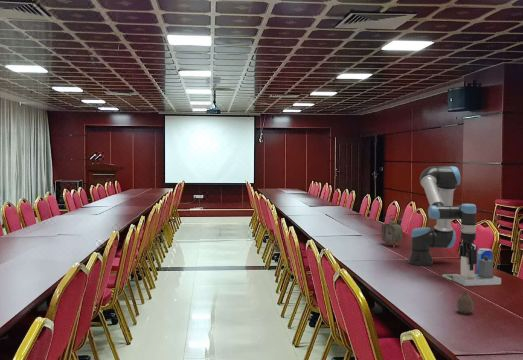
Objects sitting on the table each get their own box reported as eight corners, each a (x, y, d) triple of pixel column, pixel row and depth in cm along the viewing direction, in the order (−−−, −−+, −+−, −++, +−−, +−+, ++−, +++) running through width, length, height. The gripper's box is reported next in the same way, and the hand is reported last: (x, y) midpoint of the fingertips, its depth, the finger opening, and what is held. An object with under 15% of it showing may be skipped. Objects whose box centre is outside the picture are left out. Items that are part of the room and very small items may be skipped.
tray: (442, 277, 282) (442, 274, 282) (456, 277, 284) (456, 273, 283) (450, 281, 273) (450, 278, 273) (466, 280, 274) (466, 277, 274)
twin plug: (478, 281, 271) (479, 255, 270) (487, 280, 272) (487, 254, 271) (484, 283, 266) (484, 256, 265) (492, 282, 267) (493, 256, 266)
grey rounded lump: (468, 310, 221) (469, 290, 220) (476, 314, 214) (476, 294, 214) (453, 310, 221) (454, 290, 220) (460, 314, 214) (460, 295, 213)
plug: (468, 277, 270) (469, 251, 269) (474, 279, 265) (474, 253, 264) (460, 278, 269) (460, 252, 268) (465, 280, 264) (466, 253, 264)
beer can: (483, 278, 279) (483, 250, 279) (473, 275, 288) (473, 248, 287) (495, 277, 282) (496, 250, 281) (485, 274, 290) (485, 247, 289)
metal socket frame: (452, 281, 272) (452, 274, 272) (487, 280, 276) (487, 273, 275) (465, 287, 260) (465, 279, 260) (501, 285, 264) (501, 278, 264)
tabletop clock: (381, 245, 389) (382, 214, 388) (390, 244, 393) (391, 213, 392) (393, 248, 376) (394, 215, 375) (403, 247, 380) (403, 215, 379)
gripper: (452, 230, 274) (452, 271, 275) (471, 235, 256) (470, 279, 257) (465, 229, 275) (464, 271, 276) (484, 234, 258) (483, 278, 259)
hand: (467, 274), depth 267 cm, fingers closed on plug, 5 cm apart
